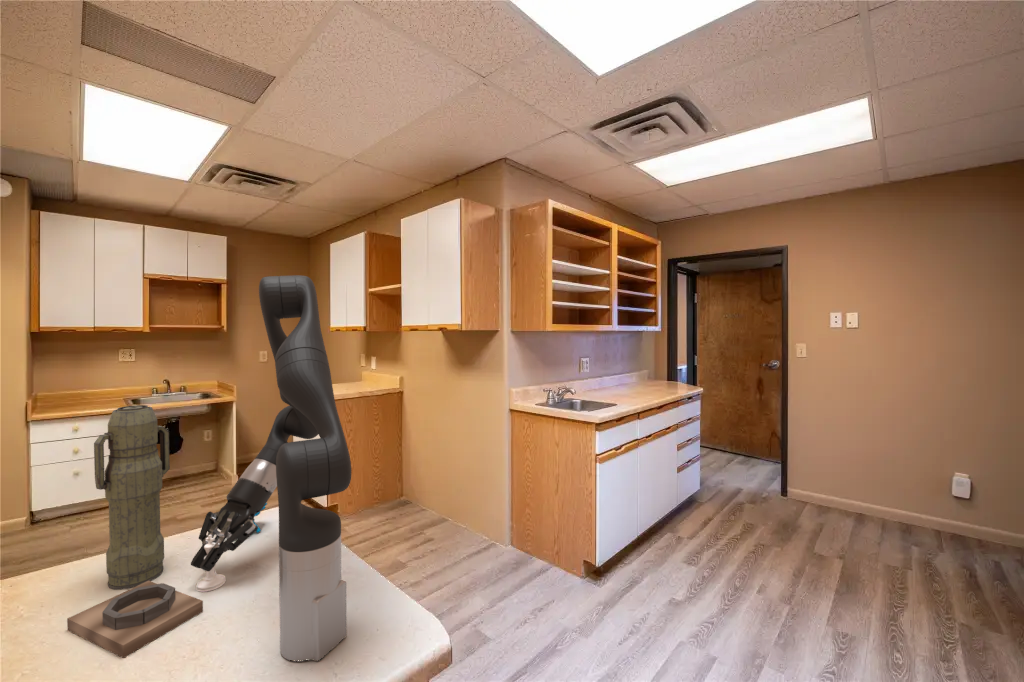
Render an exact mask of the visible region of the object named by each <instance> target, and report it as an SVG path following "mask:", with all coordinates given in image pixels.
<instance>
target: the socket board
mask: <svg viewBox="0 0 1024 682" xmlns="http://www.w3.org/2000/svg"><path fill="white" fill-rule="evenodd" d="M203 612H204V600H202V599H200V598H197V597H194V596H191V595H190V594H189V595H188V594H186V593H183V592H181V591H178V590H176V587H174V586H172V585H169V584H166V583H164V582H161V583H156V582H154V581H147V582H144V583H142V584H140V585H138V586H136V587H133V588H128V590H127V589H126V590H125V591H123V592H121V593H118V594H117V595H115V596H113V597H111V598H108V599H106V600H104V601H102V602H99V603H98V604H95V605H93V606H90V607H89V608H87V609H85V610H82V611H80V612H78V613H76V614H73V615H72V616H70V617H68V618H67V620H66V621H67V631H68V630H69V631H68V632H70V631H71V632H70V633H72V632H73V633H72V634H74V633H75V634H74V635H76V634H77V636H78V635H79V637H81V638H82V637H83V639H84V640H87V641H89V642H91V643H92V644H95V645H97V646H99V647H100V648H102V649H104V650H107V651H109V652H111V653H113V654H114V655H117V656H119V657H121V658H122V659H124V658H126V657H127V656H129V655H131V654H132V653H134V652H136V651H138V650H139V649H141V648H142V647H144V646H146V645H148V644H150V643H152V642H153V641H155V640H157V639H158V638H160V637H162V636H163V635H165V634H167V633H169V632H170V631H172V630H173V629H175V628H177V627H179V626H181V625H182V624H184V623H186V622H187V621H190V620H191V619H192V618H194V617H197V616H199V614H201V613H203Z"/></svg>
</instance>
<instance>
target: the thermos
mask: <svg viewBox="0 0 1024 682" xmlns="http://www.w3.org/2000/svg"><path fill="white" fill-rule="evenodd" d="M158 432H159V433H158ZM158 434H159V436H158ZM158 437H159V438H158ZM106 441H107V447H108V450H109V455H108V462H107V465H106V468H105V447H104V444H105V442H106ZM158 442H159V449H158V448H157V446H158V445H157V444H158ZM159 452H160V453H159ZM93 453H94V454H93V455H94V456H93V458H94V461H93V464H94V483H95V488H96V490H104V495H105V496H104V497H105V499H106V500H107V502H108V524H109V525H108V529H109V533H108V534H109V537H108V538H109V546H108V547H107V550H106V553H105V555H106V556H105V560H106V565H105V566H106V574H107V579H108V580H107V586H108V587H109V589H112V590H127V589H128V590H129V589H132V588H134V587H136V586H138V585H140V584H142V583H144V582H147V581H151V582H153V581H154V580H155V579H157V578H158V577H160V576H161V575H162V574H163V573H164V568H165V567H164V559H165V538H164V536H163V534H162V533H161V499H160V498H161V495H160V493H161V490H162V489H163V477H164V475H166V474H167V473H168V472H169V470H170V469H171V467H170V464H171V463H170V432H169V430H167V429H166V428H165V426H162V425H158V418H157V415H156V413H155V411H154V408H153V407H151V406H148V405H147V404H145V405H144V404H141V405H140V404H138V405H137V404H136V405H127V406H119V407H117V408H116V409H113V410H112V413H111V415H110V417H109V420H108V423H107V432H103V434H100V435H99V436H98V437H97V438H96V439H95V441H94V443H93ZM159 454H160V455H159Z"/></svg>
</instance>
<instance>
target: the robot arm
mask: <svg viewBox="0 0 1024 682" xmlns="http://www.w3.org/2000/svg"><path fill="white" fill-rule="evenodd" d="M258 294H259V295H258V298H259V303H260V309H261V314H262V315H261V316H262V320H263V322H264V326H265V330H266V334H267V338H268V343H269V345H270V350H271V353H272V356H273V359H274V366H275V374H276V375H275V376H276V377H275V378H276V382H277V384H276V385H277V388H278V390H279V395H280V399H281V401H282V402H283V403H284V404H286V405H288V406H285V407H284V408H282V409H281V410H279V412H278V413H277V415H276V416H275V419H274V421H273V424H272V427H271V429H270V432H269V435H268V437H267V439H266V442H265V444H264V446H263V447H262V448H261V450H259V452H258V454H257V455H256V457H255V458H254V459H253V461H252V462H251V463H250V464H249V465H248V466H247V468H245V470H244V471H243V473H242V474H241V475H240V477H239V478H238V479H237V481H236V482H235V483H234V486H233V487H232V488H231V489H230V491H229V492H228V494H227V495H226V500H227V501H226V503H225V504H224V505H223V506H222V507H221V508H220V509H219V510H218V511H216V512H213V511H208V512H207V513H206V515H205V517H204V521H203V523H202V527H201V529H200V532H199V536H198V540H200V541H201V543H202V544H201V546H200V548H199V549H198V551H197V552H196V553H195V555H194V557H193V558H192V559H191V562H190V566H192V567H194V568H196V569H201V570H203V571H205V572H206V571H210V570H211V569H212V568H213V567H214V566H215V567H216V564H217V563H218V561H219V560H220V559H221V556H223V554H224V553H227V552H228V551H231V552H233V551H235V550H236V549H238V548H239V547H240V546H241V545H242V544H243V543H244V542H245V541H246V540H247V539H249V538H250V537H251V536H252V535H253V534H255V532H256V531H257V529H258V527H259V525H257V526H256V525H255V524H254V523H253V521H252V520H253V519H255V517H254V515H255V513H259V512H262V511H263V510H262V508H263V507H264V505H265V504H266V503H268V501H269V499H270V498H271V497H272V495H273V493H274V491H275V490H277V501H278V564H279V565H278V577H279V578H278V586H279V588H278V591H279V592H278V596H279V600H278V601H279V602H278V603H279V652H280V655H281V656H282V657H283V658H284V659H285V660H287V661H290V660H295V661H294V662H296V661H297V662H303V661H302V660H306V659H314V660H313V661H315V660H317V661H316V662H319V661H320V660H319V659H321V658H322V659H323V658H324V657H325V656H327V654H328V653H330V652H329V651H330V650H331V649H332V648H333V649H334V648H336V646H338V645H339V644H340V643H341V642H342V641H343V640H344V639H345V638H346V637H347V636H346V635H347V581H346V580H344V579H342V519H341V517H340V516H339V514H337V513H336V512H334V511H331V510H329V509H325V508H324V509H323V508H316V507H312V506H311V507H310V506H308V505H305V504H303V503H302V501H305V500H309V499H314V498H321V497H325V496H329V495H330V496H331V495H335V494H339V493H341V492H344V491H346V490H347V489H348V488H349V486H350V484H351V481H352V462H351V455H350V451H349V448H348V444H347V439H346V437H345V434H344V430H343V427H342V423H341V419H340V416H339V412H338V409H337V404H336V400H335V399H336V398H335V394H334V393H335V392H334V388H333V380H332V375H331V368H330V364H329V359H328V354H327V351H326V347H325V342H324V338H323V334H322V329H321V322H320V320H321V319H320V311H319V304H318V295H317V290H316V286H315V283H314V282H313V280H312V278H311V277H309V276H306V275H300V274H299V275H296V274H294V275H279V276H278V275H273V276H272V275H270V276H269V275H268V276H264V277H262V278H261V279H260V281H259V285H258ZM295 318H296V319H297V318H300V319H299V320H298V323H297V324H296V326H295V327H294V329H292V331H291V332H290V334H289V335H288V336H287V335H286V333H285V332H284V329H283V327H282V323H281V320H283V319H295ZM291 436H293V437H296V438H299V439H304V440H297V441H295V440H294V441H289V442H288V440H289V438H290V437H291ZM318 436H319V437H318ZM316 437H318V438H316ZM276 488H277V489H276ZM261 510H262V511H261ZM230 533H231V534H232V535H231V534H230ZM208 535H212V538H215V540H214V541H212V542H214V543H216V544H215V546H214V548H212V549H211V550H210V552H209V553H208V555H207V553H206V550H205V549H204V546H205V545H206V544H208V541H206V538H207V537H208ZM206 555H207V556H206ZM205 556H206V558H205V559H204V557H205ZM345 636H346V637H345ZM344 637H345V638H344ZM343 638H344V639H343ZM342 639H343V640H342ZM341 640H342V641H341ZM340 641H341V642H340ZM339 642H340V643H339ZM333 649H332V650H333ZM332 650H331V651H332ZM324 655H325V656H324ZM323 656H324V657H323ZM322 659H321V660H322ZM298 660H299V661H298ZM300 660H301V661H300ZM318 660H319V661H318Z"/></svg>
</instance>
